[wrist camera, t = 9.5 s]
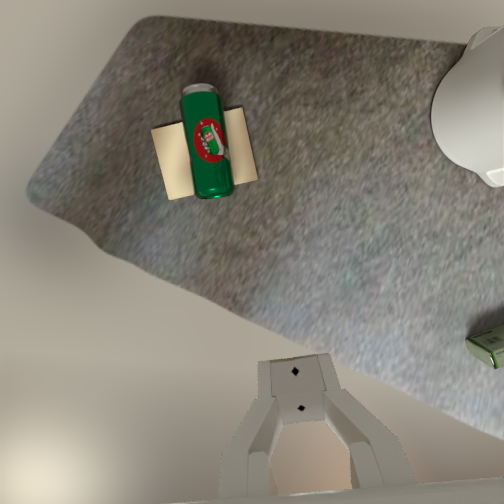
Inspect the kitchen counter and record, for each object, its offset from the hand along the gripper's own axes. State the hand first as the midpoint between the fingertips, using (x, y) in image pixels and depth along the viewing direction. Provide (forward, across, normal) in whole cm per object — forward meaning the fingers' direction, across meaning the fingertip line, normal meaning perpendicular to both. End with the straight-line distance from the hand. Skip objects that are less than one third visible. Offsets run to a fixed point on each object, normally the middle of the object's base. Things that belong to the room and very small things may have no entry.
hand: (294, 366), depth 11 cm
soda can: (+24, +6, -1) cm, 25 cm away
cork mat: (+29, +7, -6) cm, 30 cm away
